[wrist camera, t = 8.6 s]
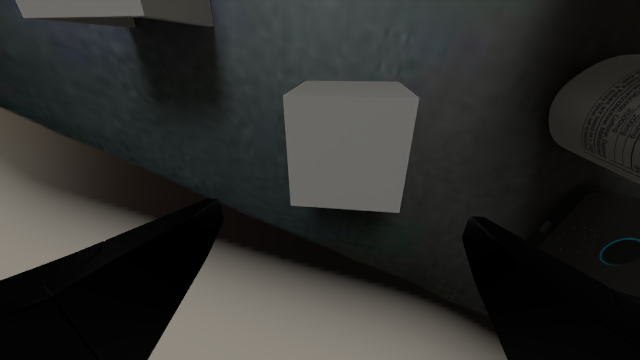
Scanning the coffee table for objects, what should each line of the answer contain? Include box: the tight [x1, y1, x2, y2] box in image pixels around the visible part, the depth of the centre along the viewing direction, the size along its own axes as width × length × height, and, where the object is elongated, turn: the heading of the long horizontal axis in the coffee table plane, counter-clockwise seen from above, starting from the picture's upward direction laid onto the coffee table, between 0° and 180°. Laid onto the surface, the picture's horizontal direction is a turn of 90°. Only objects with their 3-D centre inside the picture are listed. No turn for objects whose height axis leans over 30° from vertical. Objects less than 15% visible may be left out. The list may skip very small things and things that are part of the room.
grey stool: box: [283, 81, 419, 213], centre depth 17 cm, size 7×7×6 cm
